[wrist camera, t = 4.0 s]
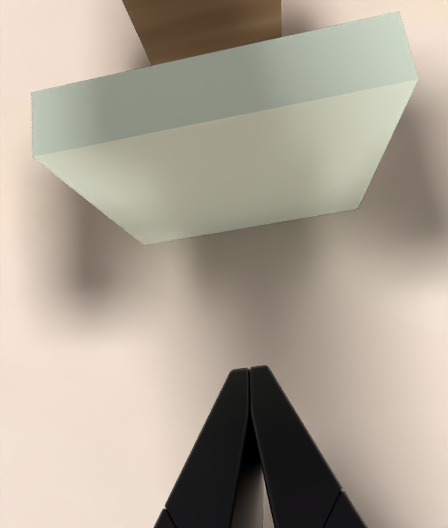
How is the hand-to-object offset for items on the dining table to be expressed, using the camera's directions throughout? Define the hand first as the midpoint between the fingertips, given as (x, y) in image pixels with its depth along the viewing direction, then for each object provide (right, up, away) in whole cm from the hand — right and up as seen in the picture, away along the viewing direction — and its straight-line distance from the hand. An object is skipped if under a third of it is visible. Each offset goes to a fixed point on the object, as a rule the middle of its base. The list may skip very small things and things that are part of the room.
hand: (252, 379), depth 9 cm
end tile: (0, +5, +10) cm, 11 cm away
